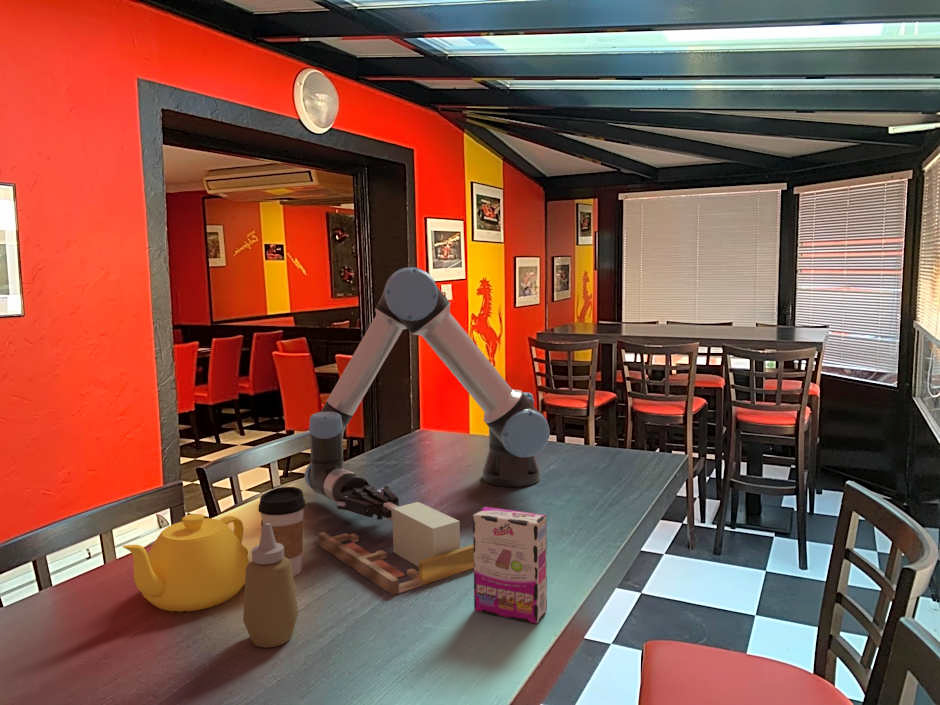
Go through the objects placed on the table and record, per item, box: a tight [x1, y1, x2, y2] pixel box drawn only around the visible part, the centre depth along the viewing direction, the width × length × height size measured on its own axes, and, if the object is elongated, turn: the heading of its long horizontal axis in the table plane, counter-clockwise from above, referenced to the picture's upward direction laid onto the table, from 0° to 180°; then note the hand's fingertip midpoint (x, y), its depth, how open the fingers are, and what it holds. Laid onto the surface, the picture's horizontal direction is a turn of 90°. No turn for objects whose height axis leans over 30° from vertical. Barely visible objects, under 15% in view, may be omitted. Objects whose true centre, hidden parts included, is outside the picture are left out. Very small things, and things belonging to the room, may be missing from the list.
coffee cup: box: [257, 486, 306, 577], centre depth 130 cm, size 8×8×15 cm
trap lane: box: [318, 531, 474, 596], centre depth 138 cm, size 28×20×4 cm
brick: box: [392, 501, 461, 568], centre depth 136 cm, size 14×6×9 cm, turn 38°
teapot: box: [122, 513, 250, 613], centre depth 122 cm, size 25×18×14 cm
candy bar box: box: [472, 506, 548, 624], centre depth 114 cm, size 11×5×16 cm, turn 65°
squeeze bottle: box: [242, 523, 299, 649], centre depth 107 cm, size 8×8×18 cm
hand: (403, 517), depth 141 cm, fingers closed
